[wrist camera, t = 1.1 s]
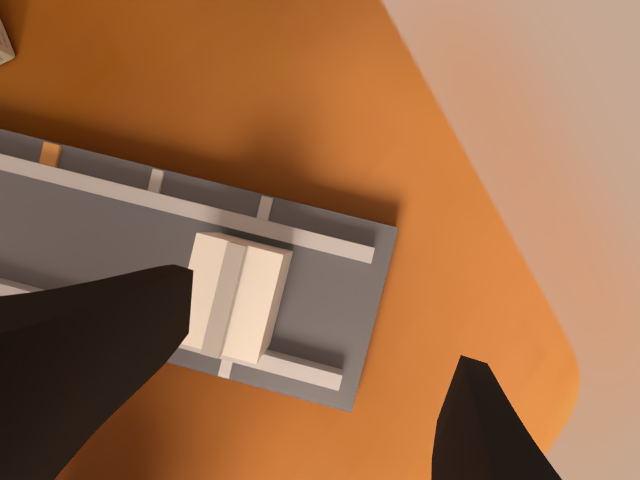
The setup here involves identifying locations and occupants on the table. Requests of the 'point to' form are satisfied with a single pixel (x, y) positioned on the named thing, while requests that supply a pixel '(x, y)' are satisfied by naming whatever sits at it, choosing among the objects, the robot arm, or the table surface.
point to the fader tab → (235, 295)
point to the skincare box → (5, 46)
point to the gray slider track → (176, 248)
